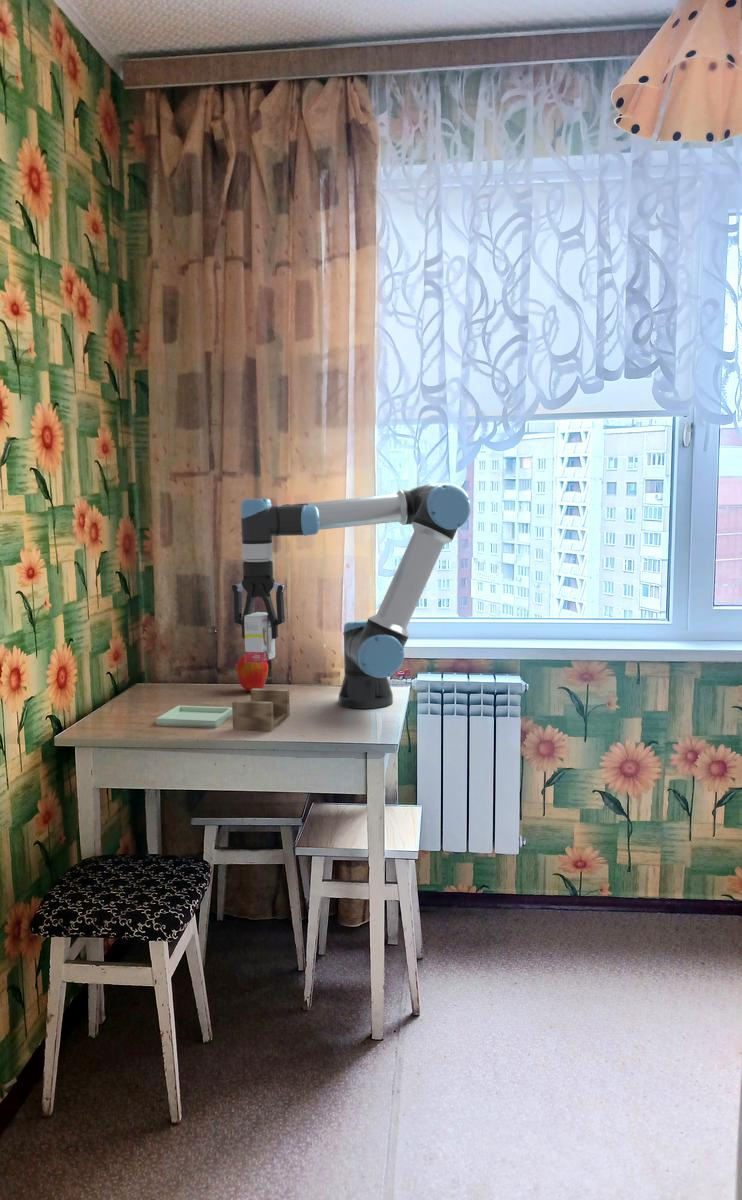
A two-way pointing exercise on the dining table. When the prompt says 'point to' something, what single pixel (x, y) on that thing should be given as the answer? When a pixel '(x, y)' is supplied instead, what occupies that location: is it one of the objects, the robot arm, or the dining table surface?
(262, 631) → the ink box
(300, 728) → the dining table surface
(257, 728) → the holder
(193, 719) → the tray
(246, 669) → the apple
